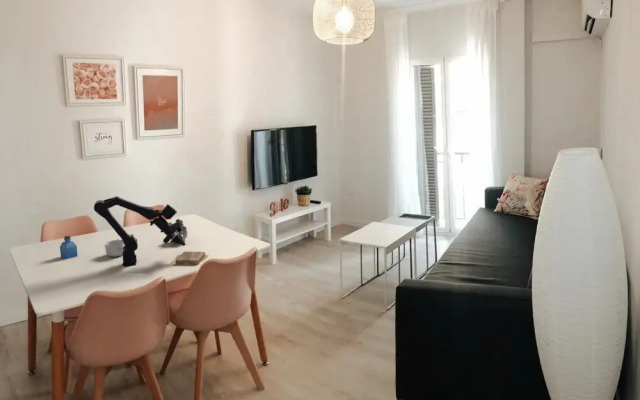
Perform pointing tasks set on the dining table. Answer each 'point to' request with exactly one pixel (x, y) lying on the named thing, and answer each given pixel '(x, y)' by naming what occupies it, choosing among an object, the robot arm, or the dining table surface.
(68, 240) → the perfume bottle
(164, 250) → the dining table surface
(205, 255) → the light tan wooden board
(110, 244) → the teacup
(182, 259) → the brown wooden slab
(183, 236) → the piggy bank
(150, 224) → the robot arm
